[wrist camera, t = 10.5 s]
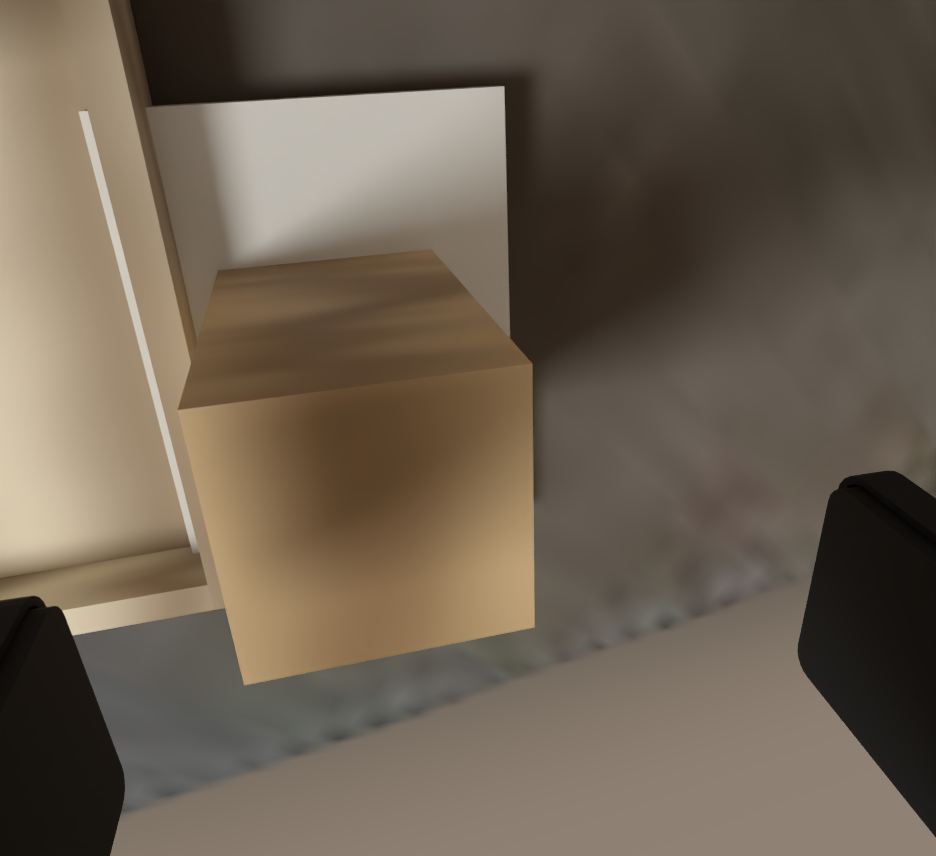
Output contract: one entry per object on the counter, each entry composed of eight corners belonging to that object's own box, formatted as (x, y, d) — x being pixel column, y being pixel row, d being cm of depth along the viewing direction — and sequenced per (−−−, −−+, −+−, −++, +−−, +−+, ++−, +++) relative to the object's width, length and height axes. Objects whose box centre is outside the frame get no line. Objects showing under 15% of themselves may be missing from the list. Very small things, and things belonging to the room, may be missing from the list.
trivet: (492, 85, 18) (503, 86, 17) (505, 511, 23) (514, 529, 22) (89, 109, 16) (78, 111, 15) (203, 563, 21) (200, 584, 20)
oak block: (431, 249, 18) (532, 364, 11) (444, 433, 20) (534, 627, 13) (218, 270, 17) (177, 410, 10) (255, 461, 19) (243, 685, 12)
